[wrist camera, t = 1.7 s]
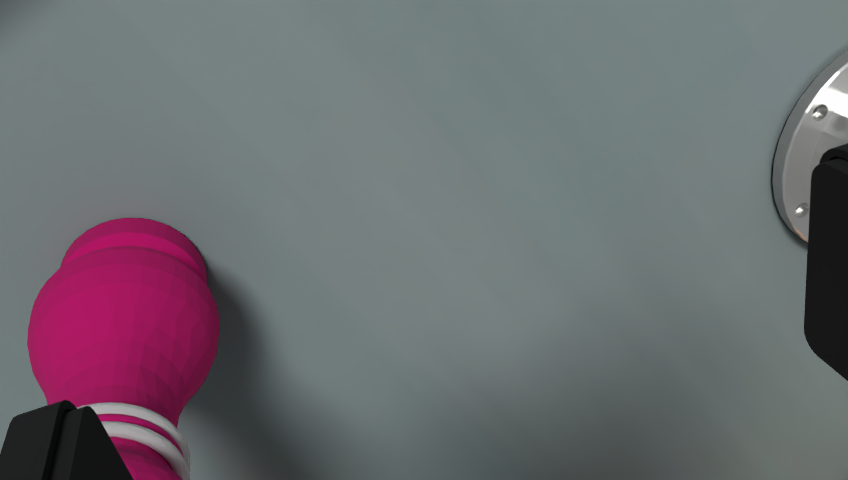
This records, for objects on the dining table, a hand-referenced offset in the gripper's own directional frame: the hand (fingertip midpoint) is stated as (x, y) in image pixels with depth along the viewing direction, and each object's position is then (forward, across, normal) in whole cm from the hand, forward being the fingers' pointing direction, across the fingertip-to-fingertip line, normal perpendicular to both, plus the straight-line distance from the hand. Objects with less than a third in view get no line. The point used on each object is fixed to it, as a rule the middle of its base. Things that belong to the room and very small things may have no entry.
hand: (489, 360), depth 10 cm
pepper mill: (+26, +10, +10) cm, 29 cm away
